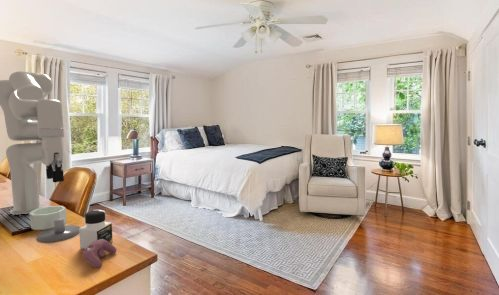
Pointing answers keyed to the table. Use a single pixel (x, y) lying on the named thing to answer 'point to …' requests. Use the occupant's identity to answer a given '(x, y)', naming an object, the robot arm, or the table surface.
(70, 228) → the lid
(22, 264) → the table surface
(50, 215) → the bowl
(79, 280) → the table surface
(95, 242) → the video game controller
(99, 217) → the medicine bottle
